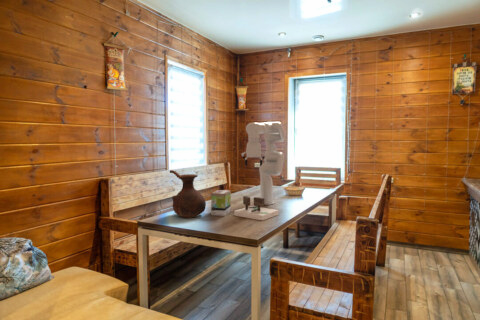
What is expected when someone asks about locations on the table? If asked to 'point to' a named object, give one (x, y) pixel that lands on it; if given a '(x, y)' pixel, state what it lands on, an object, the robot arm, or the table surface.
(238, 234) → the table surface
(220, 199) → the tea box
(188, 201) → the jug
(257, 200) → the near peg
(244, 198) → the far peg
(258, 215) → the board
